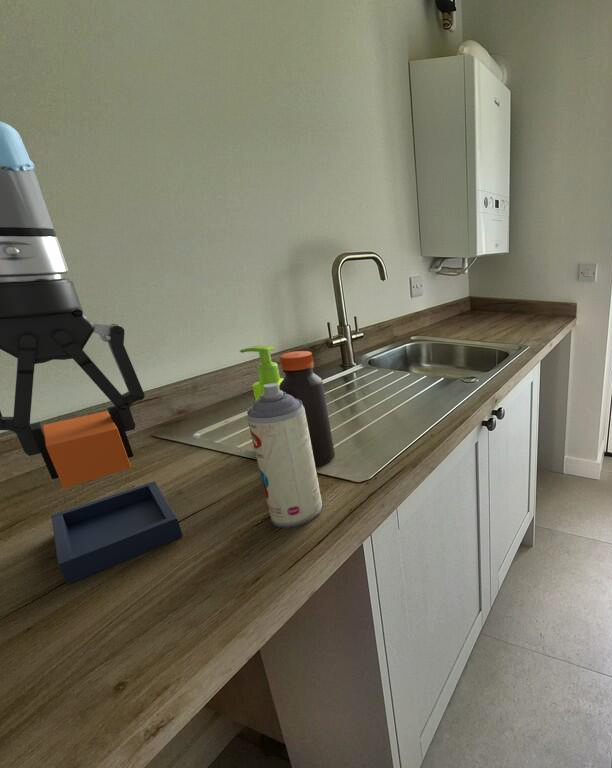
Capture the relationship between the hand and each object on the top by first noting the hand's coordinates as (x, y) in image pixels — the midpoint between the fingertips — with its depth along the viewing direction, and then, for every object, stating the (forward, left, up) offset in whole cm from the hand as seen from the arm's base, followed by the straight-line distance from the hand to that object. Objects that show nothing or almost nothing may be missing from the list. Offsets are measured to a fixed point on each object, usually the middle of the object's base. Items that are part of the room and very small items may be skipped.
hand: (93, 463), depth 52 cm
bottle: (+14, +23, -11) cm, 29 cm away
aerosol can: (+21, +8, -11) cm, 25 cm away
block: (0, 0, 0) cm, 0 cm away
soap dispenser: (+4, +27, -11) cm, 30 cm away
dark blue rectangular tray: (0, 0, -11) cm, 11 cm away
